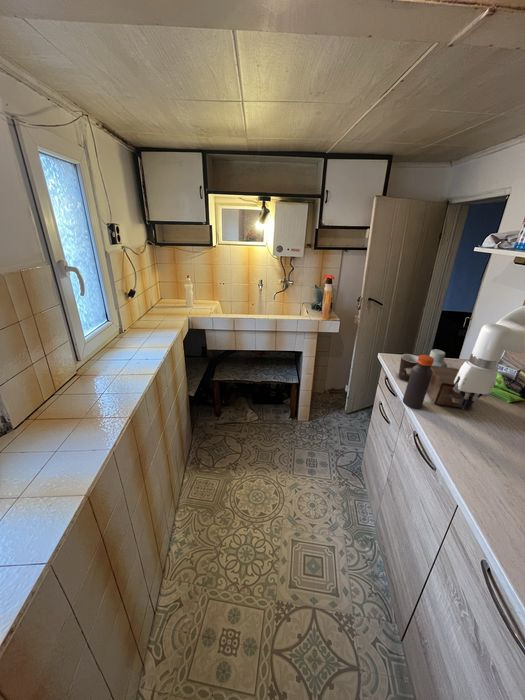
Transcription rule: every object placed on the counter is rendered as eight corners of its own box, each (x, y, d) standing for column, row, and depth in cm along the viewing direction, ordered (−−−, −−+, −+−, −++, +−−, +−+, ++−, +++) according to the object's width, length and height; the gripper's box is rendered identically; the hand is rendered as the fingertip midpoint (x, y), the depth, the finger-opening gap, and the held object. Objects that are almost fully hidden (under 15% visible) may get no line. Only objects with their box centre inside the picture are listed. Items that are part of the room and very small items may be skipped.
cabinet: (470, 409, 107) (479, 388, 103) (434, 403, 110) (441, 382, 105) (456, 389, 120) (464, 369, 116) (424, 384, 122) (430, 365, 118)
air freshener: (430, 364, 141) (436, 346, 136) (447, 371, 134) (453, 353, 130) (417, 369, 135) (423, 350, 131) (434, 377, 129) (440, 357, 125)
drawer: (476, 416, 101) (484, 398, 98) (441, 411, 104) (448, 393, 101) (457, 390, 118) (463, 374, 114) (427, 385, 120) (433, 369, 117)
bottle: (410, 409, 105) (425, 362, 97) (398, 399, 111) (411, 354, 103) (425, 408, 107) (441, 361, 98) (413, 398, 113) (427, 353, 104)
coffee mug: (392, 377, 127) (397, 357, 123) (400, 371, 133) (406, 352, 128) (419, 388, 120) (425, 367, 115) (426, 381, 125) (433, 361, 121)
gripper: (502, 359, 94) (482, 404, 102) (453, 353, 97) (437, 398, 104) (516, 370, 87) (493, 417, 95) (462, 363, 90) (444, 410, 98)
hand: (464, 407), depth 100 cm, fingers closed
